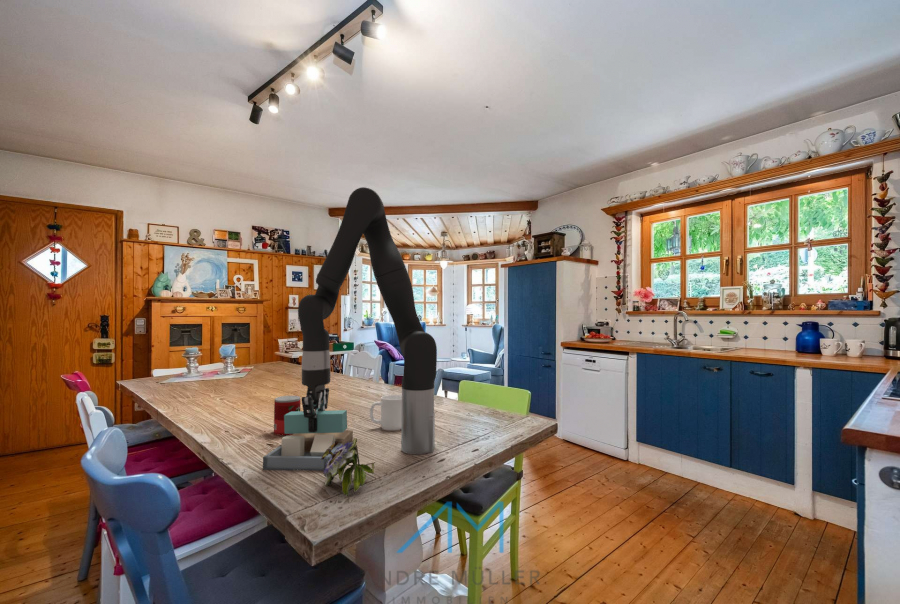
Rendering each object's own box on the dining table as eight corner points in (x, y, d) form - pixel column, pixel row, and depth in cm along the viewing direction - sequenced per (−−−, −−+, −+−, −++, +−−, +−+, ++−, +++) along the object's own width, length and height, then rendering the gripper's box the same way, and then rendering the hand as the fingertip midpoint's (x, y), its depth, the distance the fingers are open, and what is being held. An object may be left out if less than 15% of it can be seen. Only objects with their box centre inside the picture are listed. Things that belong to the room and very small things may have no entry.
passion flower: (329, 510, 84) (318, 456, 90) (377, 492, 89) (364, 442, 95) (328, 500, 76) (316, 441, 82) (381, 481, 80) (367, 426, 86)
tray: (341, 454, 103) (342, 443, 104) (327, 470, 92) (327, 458, 93) (283, 453, 104) (284, 442, 104) (262, 469, 93) (263, 457, 93)
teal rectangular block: (347, 428, 107) (346, 410, 107) (342, 432, 103) (342, 413, 103) (291, 429, 108) (290, 411, 108) (284, 433, 104) (284, 415, 104)
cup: (407, 429, 127) (407, 398, 127) (370, 432, 123) (371, 401, 123) (403, 423, 134) (403, 393, 135) (368, 425, 131) (368, 395, 131)
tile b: (304, 436, 102) (300, 439, 99) (304, 455, 101) (299, 458, 99) (286, 435, 102) (281, 438, 100) (286, 454, 102) (281, 457, 99)
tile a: (335, 439, 104) (334, 434, 102) (331, 457, 100) (329, 452, 99) (317, 439, 104) (315, 434, 102) (312, 457, 100) (310, 452, 98)
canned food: (290, 436, 119) (291, 401, 119) (268, 435, 120) (268, 399, 121) (304, 429, 126) (305, 396, 127) (283, 428, 128) (284, 394, 128)
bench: (352, 442, 113) (352, 430, 114) (341, 454, 103) (342, 441, 104) (299, 441, 114) (299, 429, 114) (283, 453, 104) (284, 440, 104)
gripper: (319, 370, 99) (319, 437, 98) (338, 363, 113) (338, 422, 112) (291, 370, 99) (291, 437, 98) (313, 363, 113) (313, 422, 113)
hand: (316, 428), depth 105 cm, fingers closed on teal rectangular block, 4 cm apart
